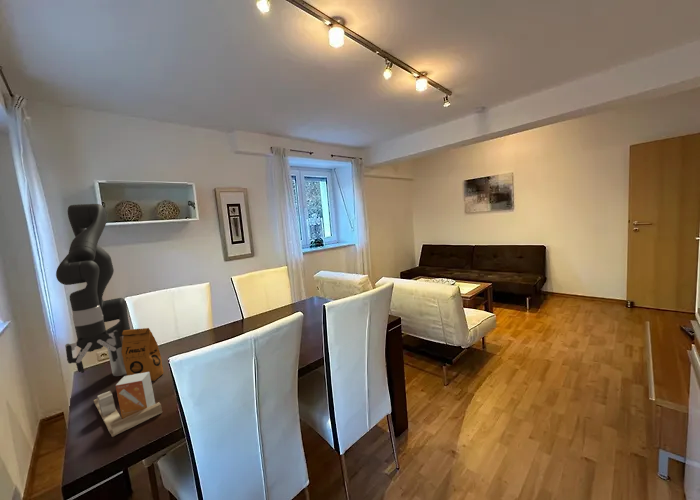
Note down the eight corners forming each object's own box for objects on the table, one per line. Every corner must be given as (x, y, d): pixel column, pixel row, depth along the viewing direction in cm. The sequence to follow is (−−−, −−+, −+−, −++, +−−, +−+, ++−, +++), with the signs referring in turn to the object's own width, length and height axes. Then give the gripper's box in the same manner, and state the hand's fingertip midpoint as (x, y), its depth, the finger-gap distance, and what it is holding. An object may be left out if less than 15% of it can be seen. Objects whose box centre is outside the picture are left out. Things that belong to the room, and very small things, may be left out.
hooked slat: (94, 402, 115) (90, 385, 114) (137, 384, 125) (134, 368, 125) (112, 437, 95) (107, 416, 94) (162, 412, 105) (158, 393, 104)
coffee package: (153, 384, 125) (143, 332, 122) (124, 386, 126) (113, 334, 123) (168, 371, 135) (159, 323, 132) (141, 373, 136) (132, 325, 133)
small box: (122, 421, 103) (114, 385, 101) (130, 410, 109) (123, 375, 107) (149, 416, 104) (142, 380, 103) (156, 404, 110) (149, 370, 109)
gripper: (112, 312, 111) (121, 355, 113) (58, 326, 100) (69, 372, 102) (117, 315, 106) (126, 360, 108) (61, 330, 95) (72, 379, 97)
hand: (98, 366), depth 105 cm, fingers open, 8 cm apart
